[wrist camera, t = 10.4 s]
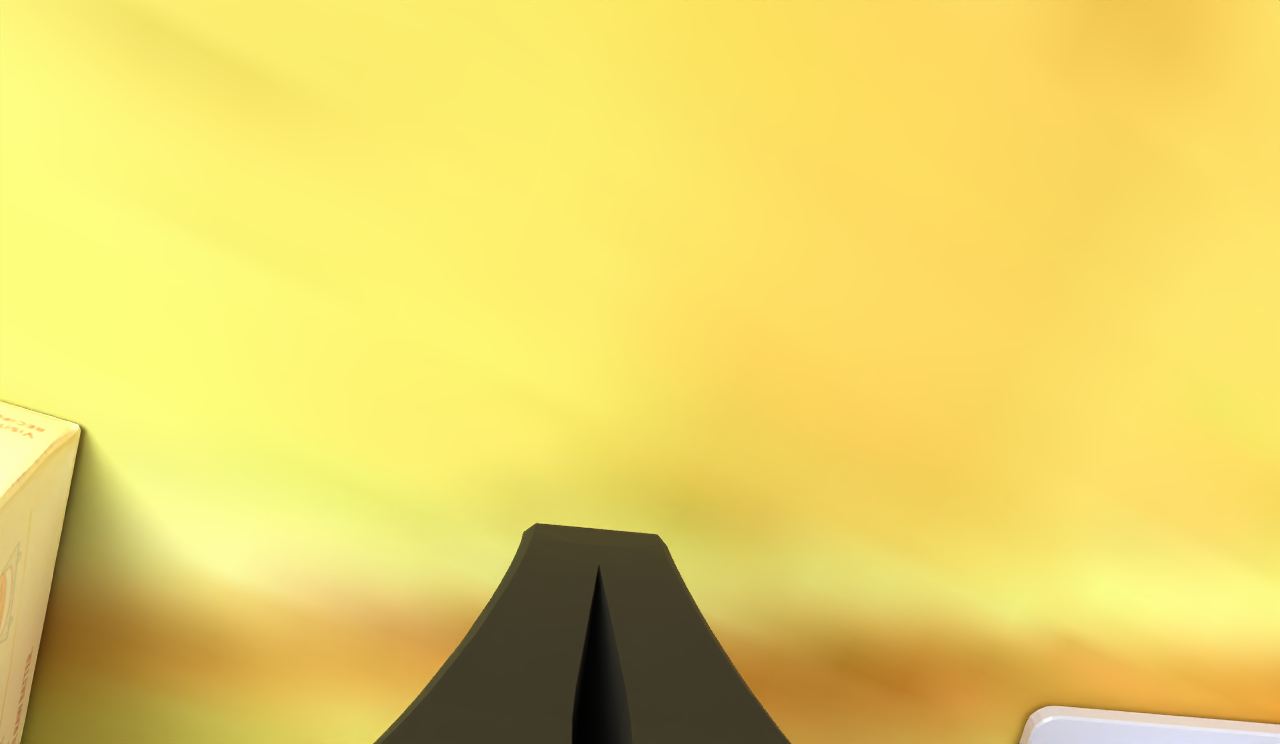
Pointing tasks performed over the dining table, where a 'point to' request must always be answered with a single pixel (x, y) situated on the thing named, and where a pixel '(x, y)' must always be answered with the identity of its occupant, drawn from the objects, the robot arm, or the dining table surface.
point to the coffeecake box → (28, 544)
